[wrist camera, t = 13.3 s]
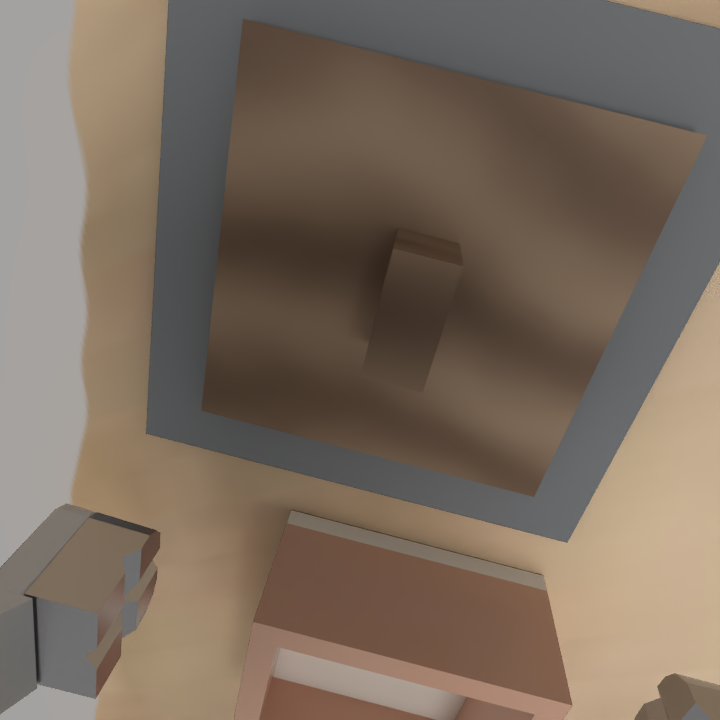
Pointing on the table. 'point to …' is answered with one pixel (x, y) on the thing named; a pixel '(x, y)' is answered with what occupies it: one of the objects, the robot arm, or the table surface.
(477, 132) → the walnut lid
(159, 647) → the table surface
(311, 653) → the salmon open box
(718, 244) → the rubber mat
